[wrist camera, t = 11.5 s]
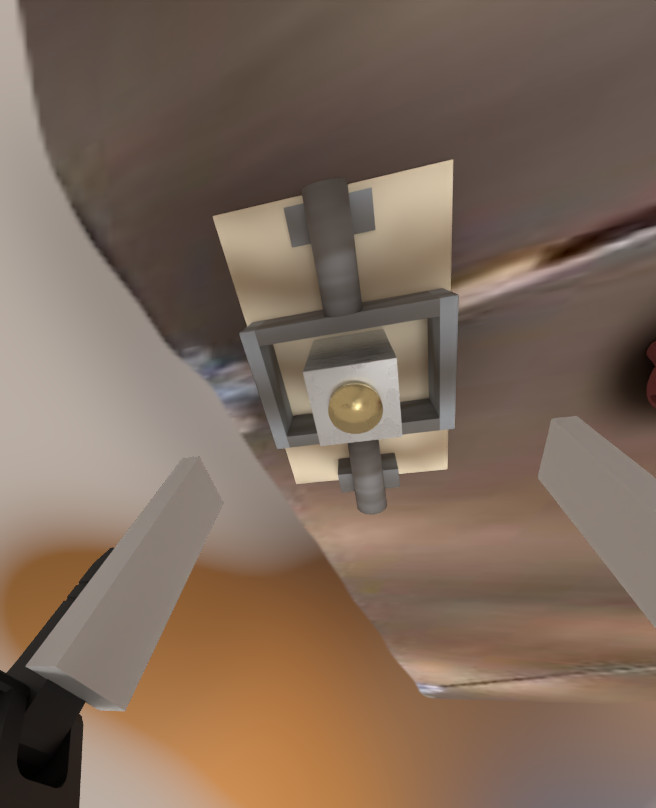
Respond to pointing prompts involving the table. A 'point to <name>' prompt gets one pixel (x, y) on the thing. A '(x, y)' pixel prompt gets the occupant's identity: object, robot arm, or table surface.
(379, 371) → the block
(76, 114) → the table surface
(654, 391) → the mechanical component
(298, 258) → the shaft bench
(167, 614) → the robot arm
